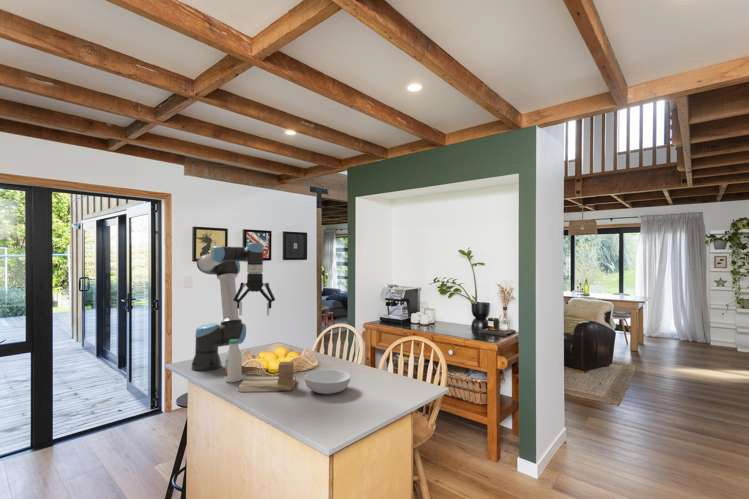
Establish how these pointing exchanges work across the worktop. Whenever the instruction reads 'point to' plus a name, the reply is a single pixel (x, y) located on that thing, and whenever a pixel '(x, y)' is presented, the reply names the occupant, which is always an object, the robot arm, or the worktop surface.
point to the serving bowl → (327, 381)
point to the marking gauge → (285, 375)
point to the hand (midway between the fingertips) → (254, 315)
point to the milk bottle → (233, 362)
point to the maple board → (262, 384)
